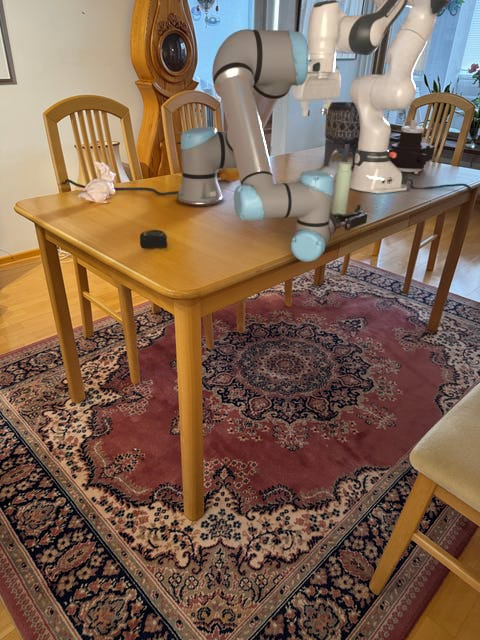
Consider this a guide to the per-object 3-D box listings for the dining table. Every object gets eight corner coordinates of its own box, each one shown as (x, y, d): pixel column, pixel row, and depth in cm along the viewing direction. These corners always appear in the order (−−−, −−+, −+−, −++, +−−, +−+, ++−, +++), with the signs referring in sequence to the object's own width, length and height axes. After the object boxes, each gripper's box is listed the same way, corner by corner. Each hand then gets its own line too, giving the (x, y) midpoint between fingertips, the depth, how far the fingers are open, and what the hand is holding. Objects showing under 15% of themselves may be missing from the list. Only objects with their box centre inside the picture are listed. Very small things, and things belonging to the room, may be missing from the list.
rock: (349, 149, 251) (351, 136, 248) (362, 151, 245) (364, 138, 242) (334, 151, 243) (336, 138, 240) (347, 154, 238) (349, 141, 234)
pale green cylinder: (329, 216, 145) (335, 161, 136) (343, 216, 145) (350, 161, 136) (332, 220, 141) (339, 164, 132) (346, 220, 141) (354, 164, 132)
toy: (211, 173, 177) (218, 164, 190) (217, 189, 180) (223, 179, 193) (237, 164, 174) (242, 156, 187) (243, 180, 177) (247, 171, 189)
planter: (313, 167, 208) (319, 103, 195) (331, 160, 222) (338, 101, 209) (353, 173, 199) (362, 107, 185) (369, 166, 213) (379, 104, 199)
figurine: (124, 198, 157) (120, 160, 151) (89, 208, 146) (83, 167, 140) (108, 194, 161) (103, 157, 155) (73, 204, 150) (67, 164, 144)
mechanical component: (380, 119, 194) (409, 114, 214) (372, 170, 205) (400, 161, 225) (430, 124, 182) (455, 119, 202) (419, 178, 193) (444, 167, 213)
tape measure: (140, 252, 115) (139, 238, 113) (141, 242, 120) (140, 229, 119) (167, 251, 116) (166, 237, 114) (167, 241, 121) (166, 228, 120)
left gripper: (271, 235, 121) (292, 213, 138) (367, 249, 113) (376, 224, 130) (273, 207, 117) (294, 188, 134) (372, 220, 109) (381, 198, 127)
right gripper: (331, 65, 145) (326, 112, 152) (290, 64, 132) (286, 116, 139) (348, 65, 141) (342, 114, 148) (307, 65, 129) (302, 118, 136)
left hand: (335, 206), depth 132 cm, fingers open, 13 cm apart
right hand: (315, 115), depth 144 cm, fingers open, 8 cm apart
